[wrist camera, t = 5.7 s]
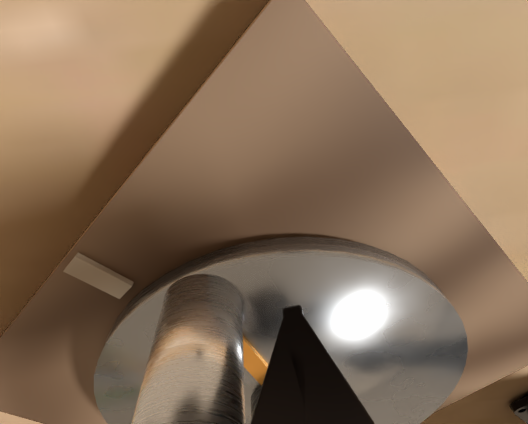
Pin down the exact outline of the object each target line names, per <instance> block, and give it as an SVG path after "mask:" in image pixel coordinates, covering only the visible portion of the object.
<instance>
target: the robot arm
mask: <svg viewBox="0 0 528 424" xmlns="http://www.w3.org/2000/svg"><path fill="white" fill-rule="evenodd" d="M282 314H283V319H282V322H281V325H280V329H279V332H278V335H277V338H276V342H275V345H274V348H273V352H272V355H271V358H270V361H269V365H268V368H267V371H266V374H265V378H264V381H263V384H262V388H261V391H260V394H259V397H258V401H257V404H256V407H255V411H254V414H253V417H252V420H251V424H375V423H374V421H373V420H372V418H371V417H370V415H369V414H368V412H367V411H366V409H365V408H364V406H363V405H362V403H361V401H360V400H359V398H358V397H357V395H356V394H355V392H354V391H353V389H352V388H351V386H350V385H349V383H348V382H347V380H346V379H345V377H344V376H343V374H342V373H341V371H340V370H339V368H338V367H337V365H336V364H335V362H334V361H333V359H332V357H331V356H330V354H329V353H328V351H327V350H326V348H325V347H324V345H323V344H322V342H321V341H320V339H319V338H318V336H317V335H316V333H315V332H314V330H313V329H312V327H311V326H310V324H309V323H308V321H307V320H306V318H305V317H304V314H303V310H302V306H301V305H295V306H289V307H285V308H283V310H282ZM510 408H511V410H512V411H513V412H514V414H515V415H517V416H518V417H519V418H521V419H522V420H523V421H524V422H526V423H527V424H528V396H526V397H524V398H522V399H520V400H518V401H515V402H514V403H512V404H511V405H510Z"/></svg>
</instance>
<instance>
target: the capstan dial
mask: <svg viewBox="0 0 528 424" xmlns="http://www.w3.org/2000/svg"><path fill="white" fill-rule="evenodd" d="M295 305H301V306H302V310H303V314H304V317H305V318H306V320H307V321H308V323H309V324H310V326H311V327H312V329H313V330H314V332H315V333H316V335H317V336H318V338H319V339H320V341H321V342H322V344H323V345H324V347H325V348H326V350H327V351H328V353H329V354H330V356H331V357H332V359H333V361H334V362H335V364H336V365H337V367H338V368H339V370H340V371H341V373H342V374H343V376H344V377H345V379H346V380H347V382H348V383H349V385H350V386H351V388H352V389H353V391H354V392H355V394H356V395H357V397H358V398H359V400H360V401H361V403H362V405H363V406H364V408H365V409H366V411H367V412H368V414H369V415H370V417H371V418H372V420H373V421H374V423H375V424H420V423H422V422H423V421H424V420H425V419H427V418H428V417H429V416H430V415H432V414H433V413H434V412H435V411H436V410H437V409H438V408H439V407H440V406H441V405H442V404H443V403H444V402H445V400H446V399H447V398H448V396H449V395H450V394H451V393H452V391H453V390H454V388H455V387H456V385H457V383H458V381H459V380H460V378H461V376H462V373H463V370H464V367H465V365H466V359H467V353H468V343H467V334H466V331H465V328H464V325H463V322H462V320H461V318H460V317H459V315H458V313H457V312H456V310H455V309H454V307H453V306H452V304H451V303H450V302H449V300H448V299H447V298H446V297H445V295H444V294H443V293H442V292H441V290H440V289H439V288H438V286H437V285H436V284H435V283H434V282H433V281H432V280H431V279H430V278H429V277H428V276H427V275H426V274H425V273H424V272H422V271H421V270H420V269H418V268H417V267H415V266H414V265H413V264H411V263H410V262H408V261H406V260H404V259H402V258H400V257H398V256H396V255H394V254H392V253H390V252H388V251H385V250H382V249H379V248H376V247H373V246H369V245H366V244H363V243H358V242H352V241H347V240H341V239H335V238H320V237H287V238H273V239H267V240H260V241H253V242H247V243H243V244H239V245H235V246H231V247H227V248H224V249H220V250H216V251H214V252H211V253H208V254H206V255H203V256H201V257H198V258H195V259H193V260H190V261H188V262H186V263H184V264H182V265H181V266H179V267H177V268H175V269H173V270H171V271H169V272H167V273H165V274H164V275H163V276H161V277H160V278H158V279H157V280H155V281H154V282H153V283H151V284H150V285H148V286H147V287H145V288H144V289H143V290H142V291H141V292H140V293H139V294H138V295H137V296H136V297H135V298H134V299H133V300H132V301H130V302H129V303H128V305H127V306H126V307H125V309H124V310H123V311H122V313H121V314H120V315H119V316H118V318H117V319H116V321H115V323H114V325H113V327H112V329H111V331H110V333H109V335H108V337H107V340H106V342H105V344H104V347H103V349H102V352H101V354H100V357H99V359H98V362H97V366H96V370H95V374H94V395H95V399H96V403H97V406H98V408H99V410H100V412H101V414H102V416H103V418H104V420H105V421H106V422H107V424H251V420H252V417H253V414H254V411H255V407H256V404H257V401H258V397H259V394H260V391H261V388H262V384H263V381H264V378H265V374H266V371H267V368H268V365H269V361H270V358H271V355H272V352H273V348H274V345H275V342H276V338H277V335H278V332H279V329H280V325H281V322H282V319H283V314H282V310H283V308H285V307H289V306H295Z"/></svg>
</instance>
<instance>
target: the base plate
mask: <svg viewBox="0 0 528 424" xmlns="http://www.w3.org/2000/svg"><path fill="white" fill-rule="evenodd" d="M287 237H320V238H335V239H341V240H347V241H352V242H358V243H363V244H366V245H369V246H373V247H376V248H379V249H382V250H385V251H388V252H390V253H392V254H394V255H396V256H398V257H400V258H402V259H404V260H406V261H408V262H410V263H411V264H413V265H414V266H415V267H417V268H418V269H420V270H421V271H422V272H424V273H425V274H426V275H427V276H428V277H429V278H430V279H431V280H432V281H433V282H434V283H435V284H436V285H437V286H438V288H439V289H440V290H441V292H442V293H443V294H444V295H445V297H446V298H447V299H448V300H449V302H450V303H451V304H452V306H453V307H454V309H455V310H456V312H457V313H458V315H459V317H460V318H461V320H462V322H463V325H464V328H465V331H466V334H467V343H468V353H467V359H466V365H465V367H464V370H463V373H462V376H461V378H460V380H459V381H458V383H457V385H456V387H455V388H454V390H453V391H452V393H451V394H450V395H449V396H448V398H447V399H446V400H445V402H444V403H443V404H442V405H441V406H440V407H439V408H438V409H437V410H436V411H438V410H440V409H442V408H444V407H446V406H448V405H450V404H452V403H454V402H456V401H458V400H460V399H462V398H464V397H466V396H468V395H470V394H472V393H474V392H476V391H478V390H480V389H482V388H484V387H486V386H488V385H490V384H492V383H494V382H496V381H498V380H500V379H502V378H504V377H506V376H508V375H510V374H512V373H514V372H516V371H518V370H520V369H522V368H524V367H526V366H528V282H527V281H526V279H525V278H524V277H523V275H522V274H521V273H520V272H519V270H518V269H517V268H516V267H515V265H514V264H513V263H512V262H511V260H510V259H509V258H508V256H507V255H506V254H505V253H504V251H503V250H502V249H501V248H500V246H499V245H498V244H497V243H496V241H495V240H494V239H493V237H492V236H491V235H490V234H489V232H488V231H487V230H486V229H485V227H484V226H483V225H482V224H481V222H480V221H479V220H478V218H477V217H476V216H475V215H474V213H473V212H472V211H471V210H470V208H469V207H468V206H467V205H466V203H465V202H464V201H463V199H462V198H461V197H460V196H459V194H458V193H457V192H456V191H455V189H454V188H453V187H452V186H451V184H450V183H449V182H448V180H447V179H446V178H445V177H444V175H443V174H442V173H441V172H440V170H439V169H438V168H437V167H436V165H435V164H434V163H433V161H432V160H431V159H430V158H429V156H428V155H427V154H426V153H425V151H424V150H423V149H422V148H421V146H420V145H419V144H418V142H417V141H416V140H415V139H414V137H413V136H412V135H411V134H410V132H409V131H408V130H407V129H406V127H405V126H404V125H403V123H402V122H401V121H400V120H399V118H398V117H397V116H396V115H395V113H394V112H393V111H392V110H391V108H390V107H389V106H388V104H387V103H386V102H385V101H384V99H383V98H382V97H381V96H380V94H379V93H378V92H377V91H376V89H375V88H374V87H373V85H372V84H371V83H370V82H369V80H368V79H367V78H366V77H365V75H364V74H363V73H362V72H361V70H360V69H359V68H358V66H357V65H356V64H355V63H354V61H353V60H352V59H351V58H350V56H349V55H348V54H347V53H346V51H345V50H344V49H343V47H342V46H341V45H340V44H339V42H338V41H337V40H336V39H335V37H334V36H333V35H332V34H331V32H330V31H329V30H328V28H327V27H326V26H325V25H324V23H323V22H322V21H321V20H320V18H319V17H318V16H317V15H316V13H315V12H314V11H313V9H312V8H311V7H310V6H309V4H308V3H307V2H306V1H305V0H269V1H268V3H267V4H266V5H265V6H264V8H263V9H262V10H261V11H260V13H259V14H258V15H257V16H256V18H255V19H254V20H253V21H252V23H251V24H250V25H249V26H248V28H247V29H246V30H245V31H244V33H243V34H242V35H241V36H240V38H239V39H238V40H237V41H236V43H235V44H234V45H233V46H232V48H231V49H230V50H229V51H228V53H227V54H226V55H225V56H224V58H223V59H222V60H221V61H220V63H219V64H218V65H217V66H216V68H215V69H214V70H213V71H212V73H211V74H210V75H209V76H208V78H207V79H206V80H205V81H204V83H203V84H202V85H201V86H200V88H199V89H198V90H197V91H196V93H195V94H194V95H193V96H192V98H191V99H190V100H189V101H188V103H187V104H186V105H185V106H184V108H183V109H182V110H181V111H180V113H179V114H178V115H177V116H176V118H175V119H174V120H173V121H172V123H171V124H170V125H169V126H168V128H167V129H166V130H165V131H164V133H163V134H162V135H161V136H160V138H159V139H158V140H157V142H156V143H155V144H154V145H153V147H152V148H151V149H150V150H149V152H148V153H147V154H146V155H145V157H144V158H143V159H142V160H141V162H140V163H139V164H138V165H137V167H136V168H135V169H134V170H133V172H132V173H131V174H130V175H129V177H128V178H127V179H126V180H125V182H124V183H123V184H122V185H121V187H120V188H119V189H118V190H117V192H116V193H115V194H114V195H113V197H112V198H111V199H110V200H109V202H108V203H107V204H106V205H105V207H104V208H103V209H102V210H101V212H100V213H99V214H98V215H97V217H96V218H95V219H94V220H93V222H92V223H91V224H90V225H89V227H88V228H87V229H86V230H85V232H84V233H83V234H82V235H81V237H80V238H79V239H78V240H77V242H76V243H75V244H74V245H73V247H72V248H71V249H70V250H69V252H68V253H67V254H66V255H65V257H64V258H63V259H62V260H61V262H60V263H59V264H58V265H57V267H56V268H55V269H54V270H53V272H52V273H51V274H50V275H49V277H48V278H47V279H46V280H45V282H44V283H43V284H42V285H41V287H40V288H39V289H38V290H37V292H36V293H35V294H34V295H33V297H32V298H31V299H30V300H29V302H28V303H27V304H26V305H25V307H24V308H23V309H22V310H21V312H20V313H19V314H18V315H17V317H16V318H15V319H14V320H13V322H12V323H11V324H10V325H9V327H8V328H7V329H6V330H5V332H4V333H3V334H2V335H1V337H0V411H1V412H4V413H8V414H11V415H15V416H19V417H22V418H26V419H29V420H33V421H36V422H40V423H43V424H107V422H106V421H105V420H104V418H103V416H102V414H101V412H100V410H99V408H98V406H97V403H96V399H95V395H94V374H95V370H96V366H97V362H98V359H99V357H100V354H101V352H102V349H103V347H104V344H105V342H106V340H107V337H108V335H109V333H110V331H111V329H112V327H113V325H114V323H115V321H116V319H117V318H118V316H119V315H120V314H121V313H122V311H123V310H124V309H125V307H126V306H127V305H128V303H129V302H130V301H132V300H133V299H134V298H135V297H136V296H137V295H138V294H139V293H140V292H141V291H142V290H143V289H144V288H145V287H147V286H148V285H150V284H151V283H153V282H154V281H155V280H157V279H158V278H160V277H161V276H163V275H164V274H165V273H167V272H169V271H171V270H173V269H175V268H177V267H179V266H181V265H182V264H184V263H186V262H188V261H190V260H193V259H195V258H198V257H201V256H203V255H206V254H208V253H211V252H214V251H216V250H220V249H224V248H227V247H231V246H235V245H239V244H243V243H247V242H253V241H260V240H267V239H273V238H287ZM436 411H435V412H436ZM435 412H434V413H435Z"/></svg>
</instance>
